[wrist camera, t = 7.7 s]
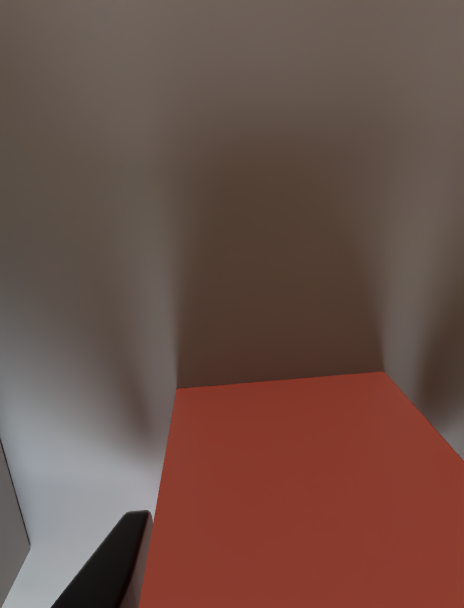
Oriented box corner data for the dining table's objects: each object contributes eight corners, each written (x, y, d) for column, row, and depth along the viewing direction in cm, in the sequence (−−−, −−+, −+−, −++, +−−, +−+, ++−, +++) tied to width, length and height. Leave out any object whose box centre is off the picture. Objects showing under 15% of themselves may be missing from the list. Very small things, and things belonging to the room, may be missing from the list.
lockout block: (375, 531, 9) (560, 935, 4) (196, 547, 9) (177, 979, 4) (383, 370, 8) (658, 679, 3) (177, 388, 8) (116, 736, 3)
